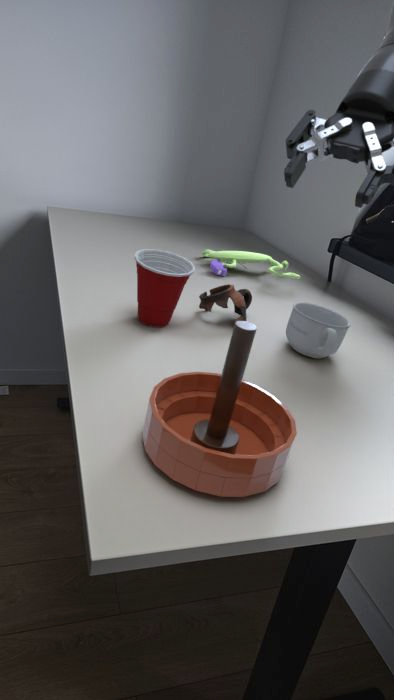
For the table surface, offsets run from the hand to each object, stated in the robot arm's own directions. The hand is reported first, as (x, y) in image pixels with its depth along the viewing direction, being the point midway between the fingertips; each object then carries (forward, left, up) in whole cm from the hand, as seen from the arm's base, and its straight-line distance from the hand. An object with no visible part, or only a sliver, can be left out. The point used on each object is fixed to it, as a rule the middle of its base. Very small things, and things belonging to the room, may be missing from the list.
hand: (322, 192), depth 56 cm
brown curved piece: (-15, -30, -31) cm, 46 cm away
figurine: (-40, -57, -31) cm, 76 cm away
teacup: (-24, -15, -31) cm, 41 cm away
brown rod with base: (+10, +5, -30) cm, 32 cm away
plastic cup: (+1, -31, -31) cm, 43 cm away
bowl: (+10, +5, -31) cm, 33 cm away
